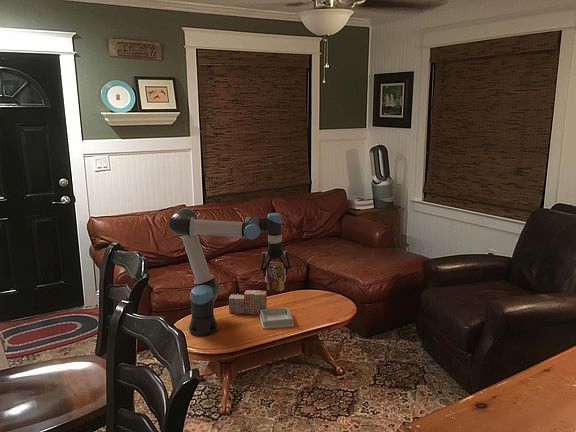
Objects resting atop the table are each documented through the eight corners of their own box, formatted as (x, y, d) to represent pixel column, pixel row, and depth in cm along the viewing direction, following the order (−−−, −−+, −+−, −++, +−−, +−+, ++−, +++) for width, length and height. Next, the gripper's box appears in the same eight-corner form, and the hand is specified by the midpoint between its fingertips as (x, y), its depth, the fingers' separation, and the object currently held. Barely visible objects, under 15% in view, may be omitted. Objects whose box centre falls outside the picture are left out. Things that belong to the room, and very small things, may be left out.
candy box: (284, 288, 275) (284, 262, 272) (281, 291, 271) (281, 264, 268) (269, 286, 278) (269, 260, 275) (266, 289, 274) (266, 263, 271)
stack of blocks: (228, 313, 290) (228, 293, 287) (231, 309, 296) (230, 289, 293) (265, 314, 287) (265, 294, 285) (267, 310, 294) (266, 290, 291)
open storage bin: (262, 328, 269) (262, 321, 268) (259, 315, 286) (259, 309, 285) (293, 326, 272) (293, 319, 271) (288, 313, 288) (288, 306, 287)
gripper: (255, 244, 263) (256, 285, 268) (296, 242, 267) (296, 282, 272) (253, 241, 271) (254, 280, 276) (294, 239, 274) (294, 277, 279)
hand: (275, 281), depth 274 cm, fingers closed on candy box, 9 cm apart
